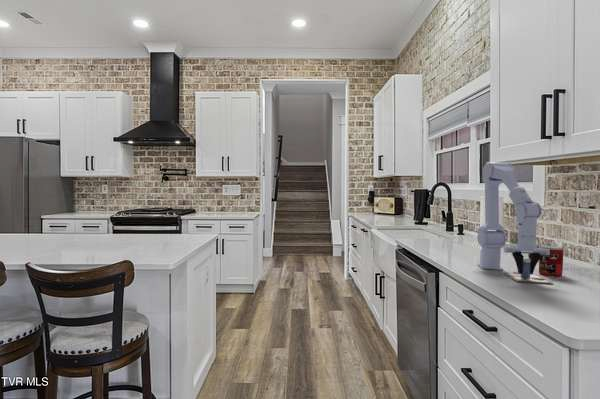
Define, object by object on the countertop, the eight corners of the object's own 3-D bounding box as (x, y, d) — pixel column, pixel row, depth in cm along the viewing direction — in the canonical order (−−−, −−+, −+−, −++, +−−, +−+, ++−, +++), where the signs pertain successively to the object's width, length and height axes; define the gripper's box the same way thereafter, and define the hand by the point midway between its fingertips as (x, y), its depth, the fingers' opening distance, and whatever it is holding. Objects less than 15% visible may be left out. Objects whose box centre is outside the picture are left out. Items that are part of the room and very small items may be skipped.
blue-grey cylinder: (519, 276, 144) (520, 257, 144) (528, 277, 144) (529, 258, 143) (522, 278, 141) (523, 259, 141) (531, 279, 141) (532, 259, 140)
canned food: (534, 273, 156) (535, 245, 156) (548, 272, 159) (549, 245, 159) (552, 277, 149) (553, 248, 149) (567, 276, 152) (568, 248, 152)
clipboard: (503, 273, 154) (503, 271, 154) (537, 275, 152) (537, 273, 152) (516, 282, 140) (516, 279, 140) (553, 284, 138) (553, 281, 138)
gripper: (508, 236, 139) (507, 274, 140) (554, 238, 137) (552, 277, 137) (502, 234, 146) (501, 270, 147) (545, 235, 143) (543, 272, 144)
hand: (525, 273), depth 142 cm, fingers closed on blue-grey cylinder, 3 cm apart
